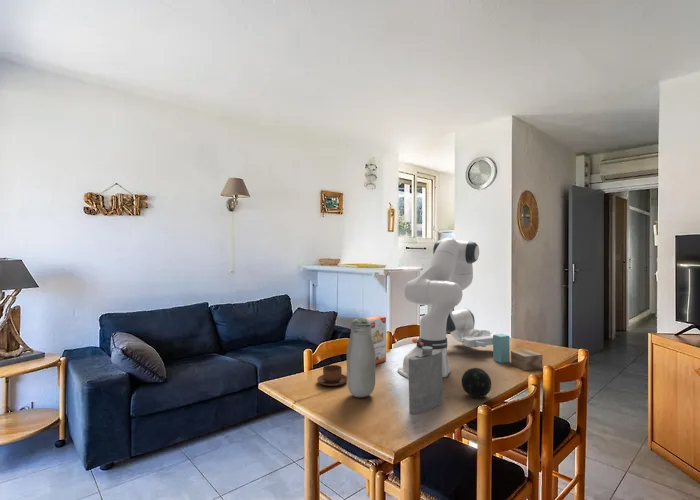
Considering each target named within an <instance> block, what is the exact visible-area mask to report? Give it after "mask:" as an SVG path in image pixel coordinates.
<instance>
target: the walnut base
mask: <svg viewBox="0 0 700 500" xmlns="http://www.w3.org/2000/svg"><path fill="white" fill-rule="evenodd" d="M510 364H511V365H512V366H514V367H517V368H520V369H522V370H524V371H529V370H530V371H531V370H538V369H543V354H541V353H538V352H535V351H533V350H530V349H520V350H519V349H518V350H511V351H510Z"/></svg>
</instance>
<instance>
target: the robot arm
mask: <svg viewBox="0 0 700 500" xmlns="http://www.w3.org/2000/svg"><path fill="white" fill-rule="evenodd" d="M432 249H433V250H432V253H433V255H432V258H431V260H430V262H429V264H428V266H427V268H425V270H424V271H423V272H422V273H421V274H420V275H418V276H417V277H415V278H413V279H411V280H409V281H407V282H406V284H405V285H404V291H403V292H404V297H405V299H406V300H407V301H408V302H409V303H412V304H416V305H420V306H421V305H422V306H424V305H425V306H430V307H431V309H430V312H428V313H426V314H424V315H423V316H422V317H421V318H420V321H419V338H418V339H417V338H415V337H413V338H411V342H412V343H413V344H416V346H414V347H413V349H412V350H411V351H409V352H408V353H407V354H405V356H404V358H403V362H402V366H398V367H397V372H398V373H399V374H400V375H401V376H403V377H405V378H408V379H409V357H413V356H416V355H419V354H422V347H425V346H428V347H432V348H433V350H441V351H442V378H446V377H447V378H448V376H449V374H450V373H451V367H450V363H449V358H448V337H447V333H450V335H451V337H452V338H453V339H454V340H456V341H457V342H459V343H461V345H463V346H465V347H467V348H479V347H480V348H481V347H482V348H485V347H486V348H487V346H493V334H495V333H494V332H491V330H485V329H484V330H483V329H481V330H480V329H476V328H475V323H476V322H475V321H476V320H475V315H474V314H473V313H472V311H471V310H469V309H468V308H465V307H464V308H460V309H457V310H453V309H454V308H455V307H457V306H458V305H459V304H460V303H461V302H462V300H463V291H465V290H466V289H467V288H469V287H470V285H471V284H472V282H473V278H474V267H473V264H474V263H475V262H477V261H478V260H479V256H480V248H479V245H478V244H477V242H475V241H470V240H469V241H466V240H457V239H454V238H452V237H445V238H443V239H440V240H437V241H435V243H434V245H433V248H432Z"/></svg>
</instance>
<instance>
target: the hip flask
mask: <svg viewBox="0 0 700 500" xmlns="http://www.w3.org/2000/svg"><path fill="white" fill-rule="evenodd" d="M408 390H409V391H408V398H409V399H408V401H409V402H408V403H409V405H408V409H409V410H408V411H409V414H412V415H419V414H421V413H424V412H427V411H430V410H432V409H434V408H436V407H437V406H439V405H440V404H442V403H443V400H444V399H443V377H442V351H441V350H433V348H432V347H428V346H425V347H422V354H419V355H416V356H413V357H409V378H408Z"/></svg>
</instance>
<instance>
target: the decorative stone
mask: <svg viewBox="0 0 700 500" xmlns="http://www.w3.org/2000/svg"><path fill="white" fill-rule="evenodd" d="M491 380H492V379H491V377H490V375H489V374H488V373H487V371H485V370H483V369H482V368H479V367H471V368H468V369H466V371H464V373H463V374H462V375H461V386H462V389H463V390H464V392H465V393H466V394H467V395H469V396H470V397H472V398H477V399H480V398H483V397H486V396H487V395H488V394H489V392H490V391H491V390H492V389H491V388H492V381H491Z"/></svg>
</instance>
